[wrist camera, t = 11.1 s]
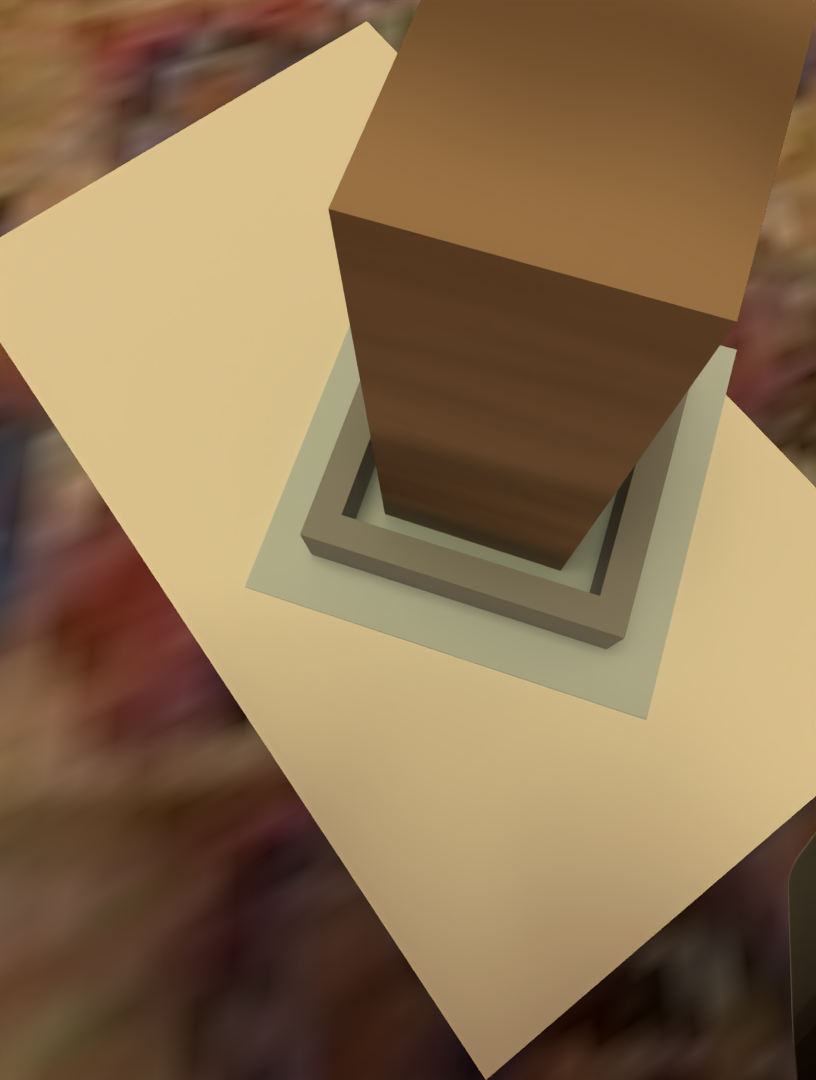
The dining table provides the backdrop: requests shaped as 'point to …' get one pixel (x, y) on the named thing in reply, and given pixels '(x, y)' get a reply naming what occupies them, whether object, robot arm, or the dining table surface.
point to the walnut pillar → (553, 245)
